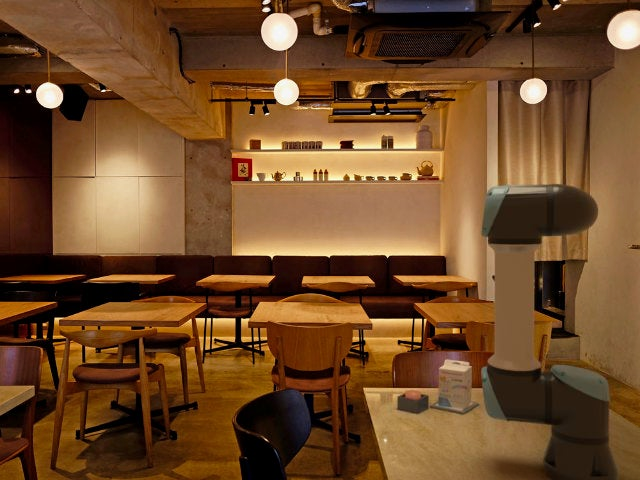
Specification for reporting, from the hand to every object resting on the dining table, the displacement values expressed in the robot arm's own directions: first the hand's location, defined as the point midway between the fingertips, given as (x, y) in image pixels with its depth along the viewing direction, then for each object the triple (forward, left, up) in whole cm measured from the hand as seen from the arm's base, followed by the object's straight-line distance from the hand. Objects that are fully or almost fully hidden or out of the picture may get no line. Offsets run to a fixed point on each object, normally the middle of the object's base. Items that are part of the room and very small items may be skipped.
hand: (513, 328), depth 169 cm
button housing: (-22, +24, -24) cm, 40 cm away
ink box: (-11, +14, -24) cm, 30 cm away
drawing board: (-11, +14, -24) cm, 30 cm away
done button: (-21, +23, -23) cm, 39 cm away
